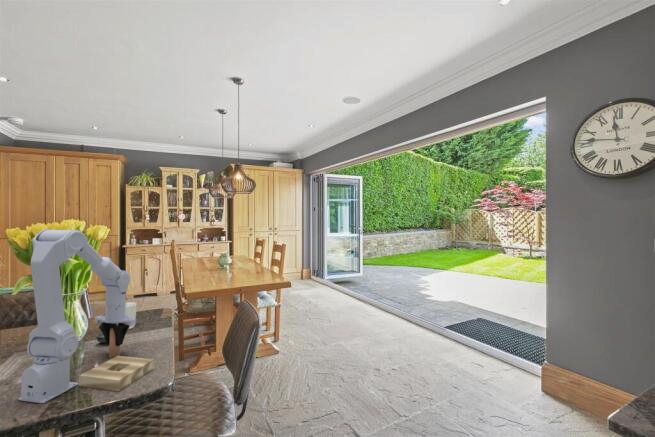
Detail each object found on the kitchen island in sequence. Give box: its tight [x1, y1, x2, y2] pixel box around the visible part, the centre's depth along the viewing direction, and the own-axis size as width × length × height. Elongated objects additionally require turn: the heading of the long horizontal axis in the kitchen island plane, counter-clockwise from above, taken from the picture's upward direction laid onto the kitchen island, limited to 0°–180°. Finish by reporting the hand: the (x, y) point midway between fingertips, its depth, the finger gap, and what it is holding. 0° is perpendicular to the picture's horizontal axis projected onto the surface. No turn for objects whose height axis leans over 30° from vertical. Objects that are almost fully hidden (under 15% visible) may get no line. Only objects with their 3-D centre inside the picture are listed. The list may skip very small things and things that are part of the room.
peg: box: [108, 328, 121, 359], centre depth 107 cm, size 3×3×10 cm
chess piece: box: [95, 314, 109, 348], centre depth 117 cm, size 6×6×12 cm
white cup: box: [117, 301, 138, 330], centre depth 135 cm, size 8×8×10 cm
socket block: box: [78, 355, 154, 392], centre depth 93 cm, size 13×13×3 cm
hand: (114, 344), depth 107 cm, fingers closed on peg, 3 cm apart
